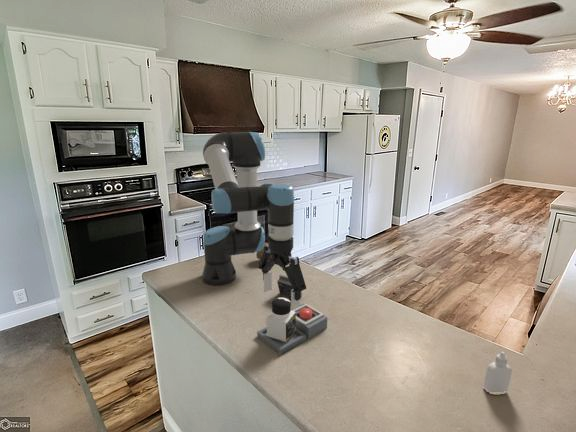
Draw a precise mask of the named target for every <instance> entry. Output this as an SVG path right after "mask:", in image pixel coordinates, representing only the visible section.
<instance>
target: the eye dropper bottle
mask: <svg viewBox="0 0 576 432" xmlns="http://www.w3.org/2000/svg"><path fill="white" fill-rule="evenodd" d="M485 372H486V373H485V377H484V382H483V386H484V387H485V388H486V389H487V390H488V391H490V392H504V391H507V390H509V386H510V382H511V378H512V372H513V370H512V367H511V366H510V365H509V364H508V357H507V356H506V352H505V351H501V352H500V353H498V354H496V357H495V361H493V362H491V363H489V364H488V365H487V367H486V371H485ZM507 392H508V391H507Z"/></svg>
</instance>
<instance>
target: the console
mask: <svg viewBox="0 0 576 432" xmlns="http://www.w3.org/2000/svg"><path fill="white" fill-rule="evenodd" d="M302 308H309V309H311V310H312V318H311V319H309V320H307V321H305V320H303V319H301V318H300V317H299V311H300V309H302ZM291 311H295V312H296V330H295V331H294V333H293V334H292V335H291V337H290V338H289V339H288V341H287V342H284V341H281V340H278V339H275V338H272V337H268V336H267V326H266V327H263V328H261V329H260V330H258V331H257V332H256V335H257V336H256V337H257V338H259V340H261V341H262V342H264V343H265V344H266V345H268V346H269V347H270V348H271V349H273V350H274V351H275V352H276V353H277V354H279V355H280V356H282V355H283V354H285V353H286V352H288V351H290V350H291V349H293V348H295V347H297V346H298V345H300V344H302V343H303V342H305V341H307V339H310V338H312V337H314V336H315V335H317V334H319V333H320V332H322V331H324V330H326V329H328V317H327V316H326V315H325V314H324V313H323V312H321V311H319V310H317V309H316V308H314V307H313V306H311V305H309V304H307V303H302V304H299V307H298V308H296V309H294V310H292V309H291Z"/></svg>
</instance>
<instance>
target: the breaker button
mask: <svg viewBox="0 0 576 432" xmlns="http://www.w3.org/2000/svg"><path fill="white" fill-rule="evenodd" d="M299 317H300V318H301V319H303V320H305V321H307V320H309V319H311V318H312V310H311V309H309V308H302V309H300V311H299Z"/></svg>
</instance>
